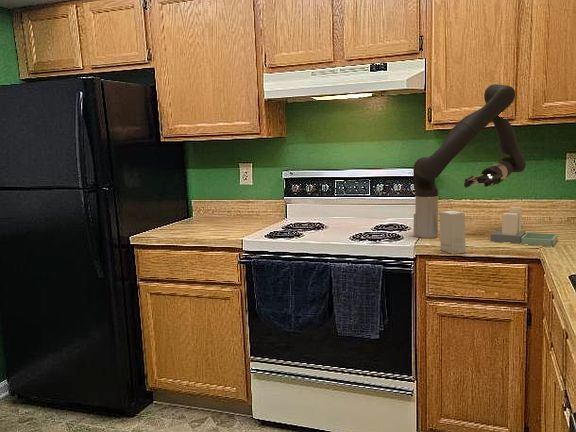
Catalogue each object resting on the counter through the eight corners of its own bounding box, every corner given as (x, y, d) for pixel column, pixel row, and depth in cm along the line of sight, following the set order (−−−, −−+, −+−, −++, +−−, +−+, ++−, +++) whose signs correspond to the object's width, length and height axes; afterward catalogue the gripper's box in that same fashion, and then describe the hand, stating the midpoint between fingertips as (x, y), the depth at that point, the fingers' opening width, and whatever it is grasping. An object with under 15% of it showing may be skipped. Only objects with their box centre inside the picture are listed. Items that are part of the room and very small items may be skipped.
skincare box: (465, 253, 189) (466, 212, 186) (450, 254, 187) (451, 213, 185) (453, 248, 197) (453, 209, 195) (438, 249, 195) (439, 210, 193)
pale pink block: (501, 234, 205) (502, 214, 204) (504, 232, 208) (504, 212, 207) (515, 235, 202) (516, 214, 201) (517, 233, 206) (518, 213, 205)
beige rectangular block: (508, 232, 208) (509, 207, 207) (510, 230, 211) (511, 206, 210) (519, 233, 206) (520, 208, 204) (521, 231, 209) (522, 206, 208)
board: (490, 241, 207) (490, 234, 206) (496, 236, 216) (496, 229, 215) (520, 243, 201) (520, 236, 200) (525, 238, 210) (525, 231, 209)
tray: (520, 244, 200) (520, 238, 199) (526, 238, 210) (527, 232, 210) (552, 247, 194) (552, 240, 193) (557, 240, 204) (557, 234, 204)
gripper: (477, 166, 223) (457, 176, 213) (509, 164, 212) (490, 174, 202) (479, 183, 224) (460, 194, 214) (512, 182, 214) (493, 193, 204)
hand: (475, 184), depth 208 cm, fingers open, 8 cm apart
